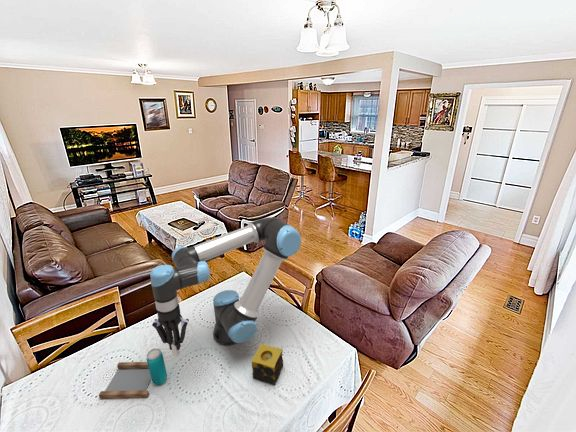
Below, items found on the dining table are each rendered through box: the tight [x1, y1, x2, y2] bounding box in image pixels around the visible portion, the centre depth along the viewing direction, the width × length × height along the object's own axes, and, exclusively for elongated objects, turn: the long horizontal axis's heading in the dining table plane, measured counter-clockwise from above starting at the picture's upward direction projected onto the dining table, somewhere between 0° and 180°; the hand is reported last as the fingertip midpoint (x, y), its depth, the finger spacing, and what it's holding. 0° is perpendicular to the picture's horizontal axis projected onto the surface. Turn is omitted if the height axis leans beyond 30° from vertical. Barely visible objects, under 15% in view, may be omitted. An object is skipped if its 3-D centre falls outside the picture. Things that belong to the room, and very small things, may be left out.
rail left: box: [98, 389, 150, 400], centre depth 109 cm, size 18×2×2 cm, turn 91°
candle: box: [251, 343, 284, 386], centre depth 117 cm, size 10×10×10 cm
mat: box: [104, 369, 152, 391], centre depth 115 cm, size 16×11×1 cm
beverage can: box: [146, 347, 168, 387], centre depth 112 cm, size 6×6×15 cm
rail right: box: [116, 361, 149, 370], centre depth 121 cm, size 18×2×2 cm, turn 91°
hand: (176, 355), depth 110 cm, fingers closed
